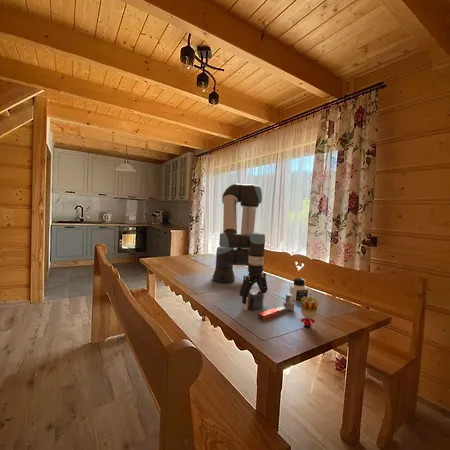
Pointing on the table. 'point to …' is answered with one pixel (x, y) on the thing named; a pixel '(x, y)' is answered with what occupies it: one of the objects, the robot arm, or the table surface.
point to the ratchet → (278, 309)
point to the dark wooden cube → (255, 300)
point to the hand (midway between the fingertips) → (253, 307)
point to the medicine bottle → (298, 290)
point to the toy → (308, 310)
